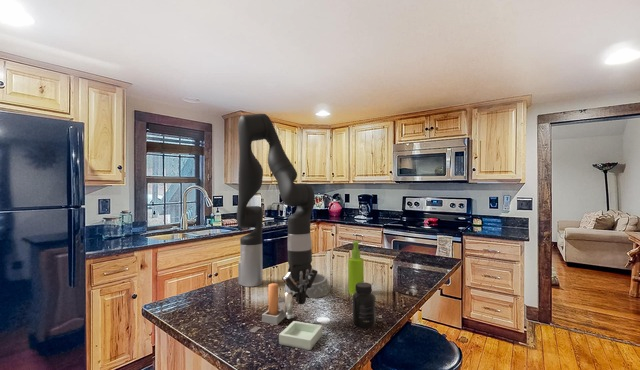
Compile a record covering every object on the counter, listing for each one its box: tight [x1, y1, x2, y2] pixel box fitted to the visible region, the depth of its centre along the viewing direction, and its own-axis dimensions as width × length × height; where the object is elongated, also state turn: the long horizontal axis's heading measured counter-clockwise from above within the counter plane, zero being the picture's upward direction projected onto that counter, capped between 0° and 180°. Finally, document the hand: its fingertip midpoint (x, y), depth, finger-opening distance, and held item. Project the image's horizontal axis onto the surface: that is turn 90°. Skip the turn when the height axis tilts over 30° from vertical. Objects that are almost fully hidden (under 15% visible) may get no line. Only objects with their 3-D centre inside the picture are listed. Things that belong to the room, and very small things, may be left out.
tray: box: [278, 320, 324, 351], centre depth 85 cm, size 9×9×2 cm
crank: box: [278, 291, 295, 320], centre depth 99 cm, size 15×4×8 cm, turn 24°
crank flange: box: [249, 307, 280, 333], centre depth 98 cm, size 7×20×1 cm, turn 159°
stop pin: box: [268, 282, 279, 316], centre depth 97 cm, size 3×3×11 cm
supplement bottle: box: [352, 281, 376, 330], centre depth 94 cm, size 7×7×12 cm
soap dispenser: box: [347, 240, 365, 295], centre depth 123 cm, size 6×7×20 cm
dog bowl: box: [283, 272, 330, 300], centre depth 125 cm, size 17×18×5 cm
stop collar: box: [261, 309, 286, 325], centre depth 97 cm, size 5×5×2 cm
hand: (301, 303), depth 96 cm, fingers closed
